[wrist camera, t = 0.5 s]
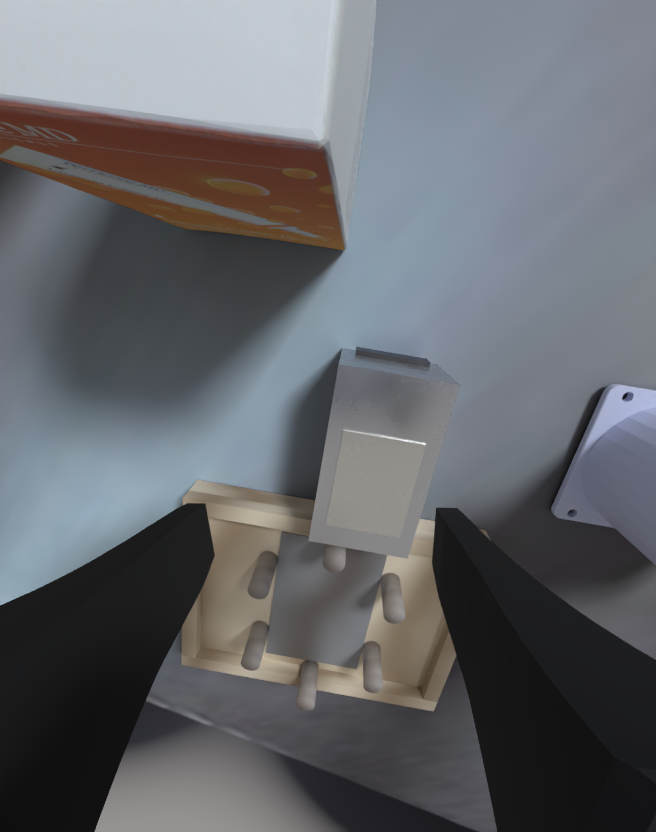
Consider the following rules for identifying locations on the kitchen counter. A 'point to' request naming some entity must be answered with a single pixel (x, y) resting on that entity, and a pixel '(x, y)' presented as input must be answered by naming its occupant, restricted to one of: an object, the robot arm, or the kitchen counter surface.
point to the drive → (380, 450)
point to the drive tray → (315, 606)
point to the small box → (194, 108)
